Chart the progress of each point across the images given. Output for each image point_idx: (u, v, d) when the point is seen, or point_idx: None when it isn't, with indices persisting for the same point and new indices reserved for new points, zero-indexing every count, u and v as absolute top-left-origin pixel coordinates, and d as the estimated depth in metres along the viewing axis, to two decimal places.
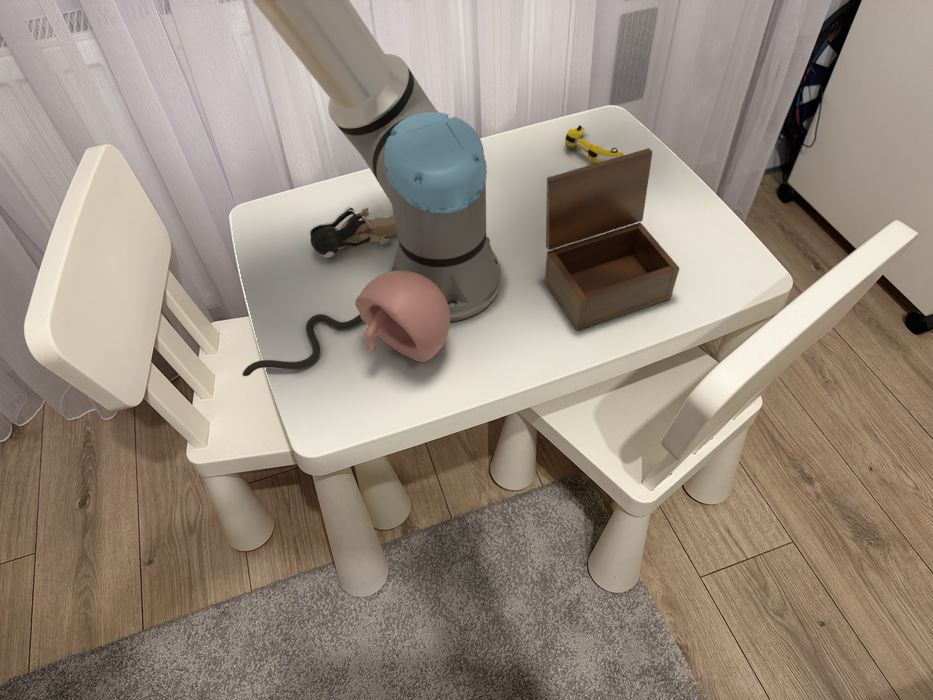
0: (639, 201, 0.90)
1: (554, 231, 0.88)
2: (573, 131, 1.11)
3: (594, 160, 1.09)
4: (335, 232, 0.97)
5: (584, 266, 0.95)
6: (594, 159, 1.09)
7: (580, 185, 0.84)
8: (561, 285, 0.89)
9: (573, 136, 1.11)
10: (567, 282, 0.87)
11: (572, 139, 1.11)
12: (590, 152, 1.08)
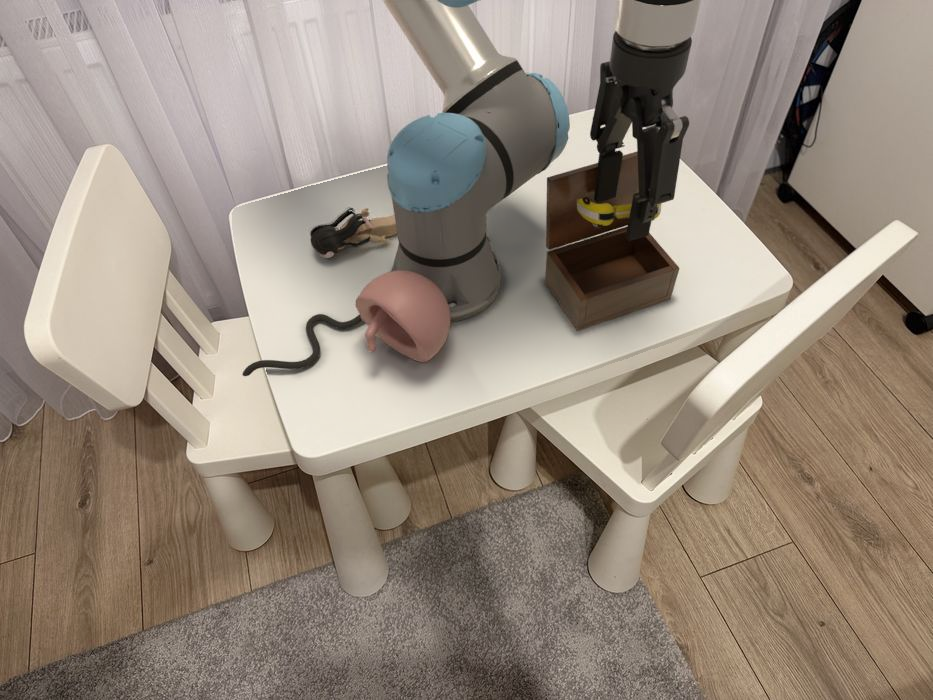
0: None
1: (554, 231, 0.88)
2: (606, 205, 0.79)
3: (657, 216, 0.80)
4: (335, 232, 0.97)
5: (584, 266, 0.95)
6: (657, 215, 0.80)
7: (580, 185, 0.84)
8: (561, 285, 0.89)
9: (612, 210, 0.79)
10: (567, 282, 0.87)
11: (612, 214, 0.80)
12: None
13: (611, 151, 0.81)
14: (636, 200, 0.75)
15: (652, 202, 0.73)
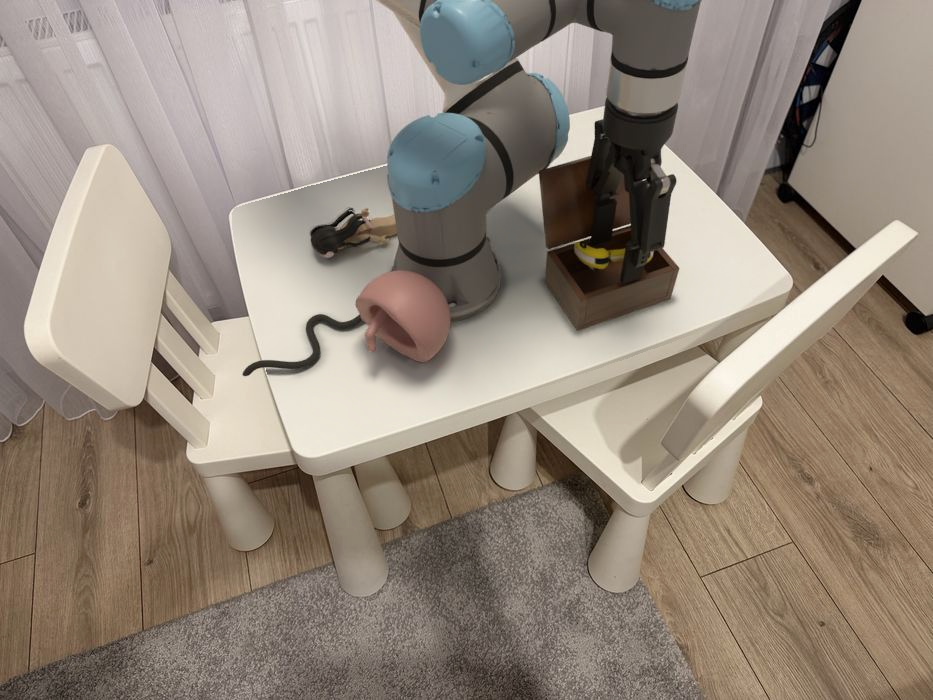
0: None
1: (552, 228, 0.88)
2: (601, 250, 0.85)
3: (649, 260, 0.86)
4: (335, 232, 0.97)
5: (584, 266, 0.95)
6: (649, 259, 0.85)
7: (573, 178, 0.86)
8: (561, 285, 0.89)
9: (607, 255, 0.85)
10: (567, 282, 0.87)
11: (607, 258, 0.85)
12: None
13: (606, 199, 0.86)
14: (629, 248, 0.80)
15: (644, 250, 0.78)
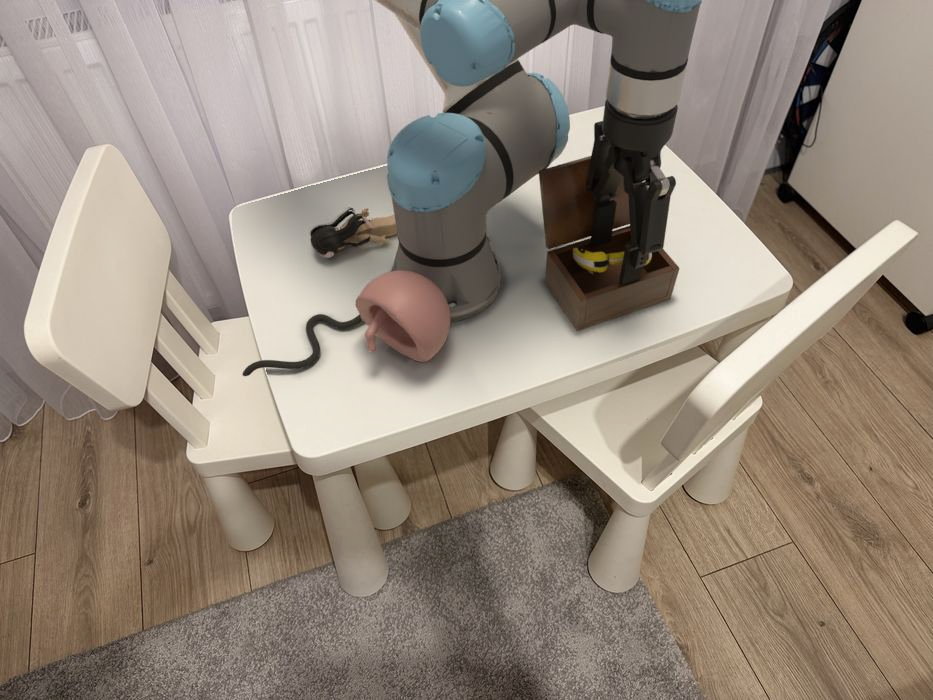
0: None
1: (552, 228, 0.88)
2: (600, 253, 0.85)
3: (648, 262, 0.86)
4: (335, 232, 0.97)
5: None
6: (648, 261, 0.86)
7: (573, 178, 0.86)
8: (561, 285, 0.89)
9: (606, 258, 0.85)
10: (567, 282, 0.87)
11: (606, 261, 0.85)
12: None
13: (605, 201, 0.86)
14: (628, 249, 0.80)
15: (643, 252, 0.78)
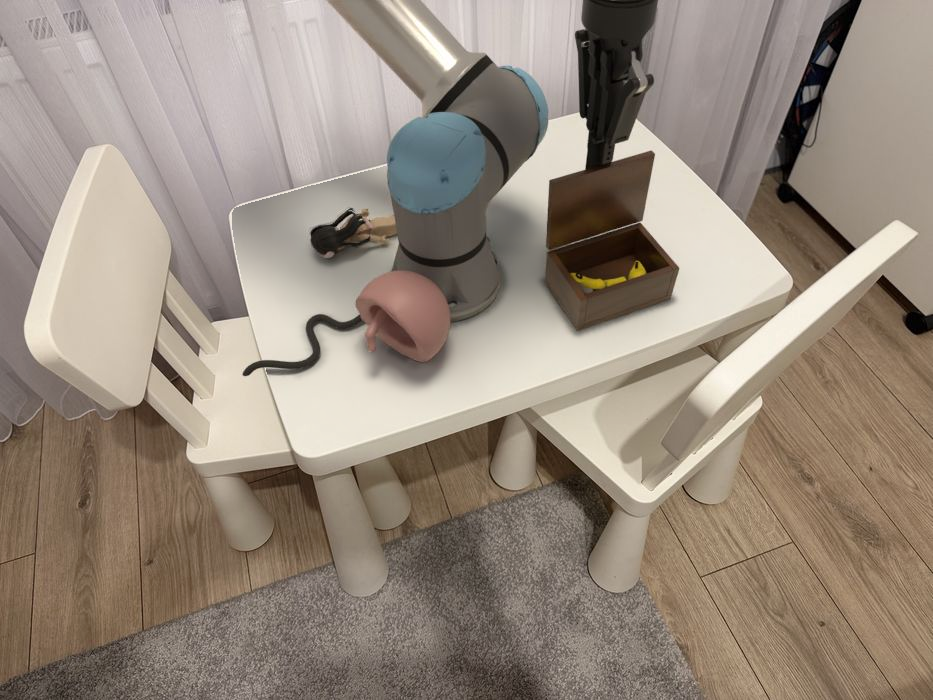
0: (640, 202, 0.90)
1: (555, 232, 0.88)
2: (598, 281, 0.88)
3: None
4: (335, 232, 0.97)
5: (584, 266, 0.95)
6: None
7: (582, 187, 0.84)
8: (561, 285, 0.89)
9: (604, 285, 0.88)
10: (567, 282, 0.87)
11: None
12: None
13: None
14: (594, 141, 0.80)
15: (608, 142, 0.78)
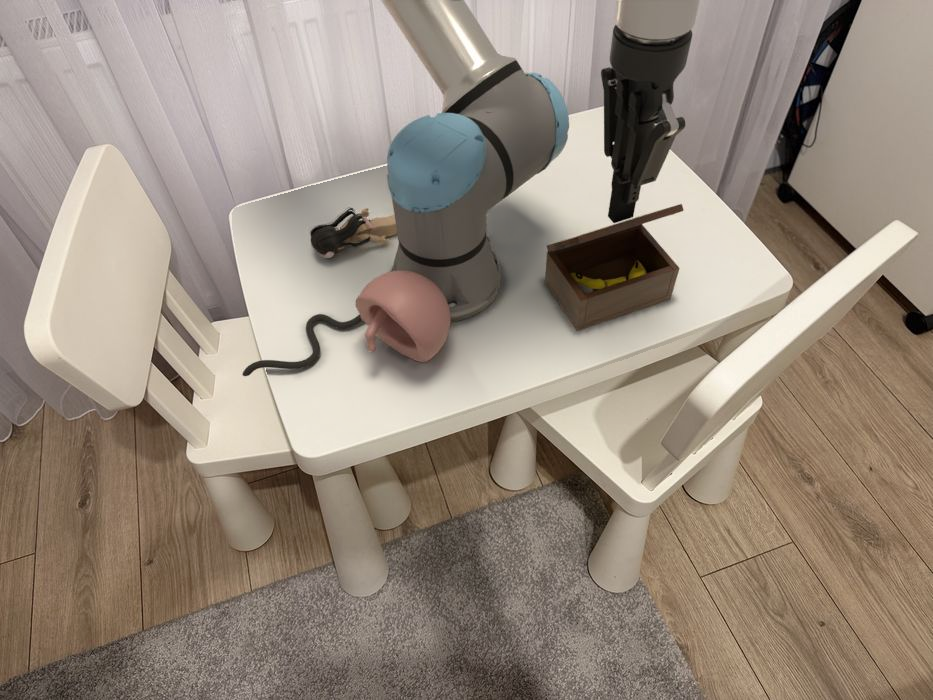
0: None
1: None
2: (598, 281, 0.88)
3: None
4: (335, 232, 0.97)
5: (584, 266, 0.95)
6: None
7: None
8: (561, 285, 0.89)
9: (604, 285, 0.88)
10: (567, 282, 0.87)
11: None
12: None
13: None
14: (619, 181, 0.77)
15: (635, 184, 0.75)
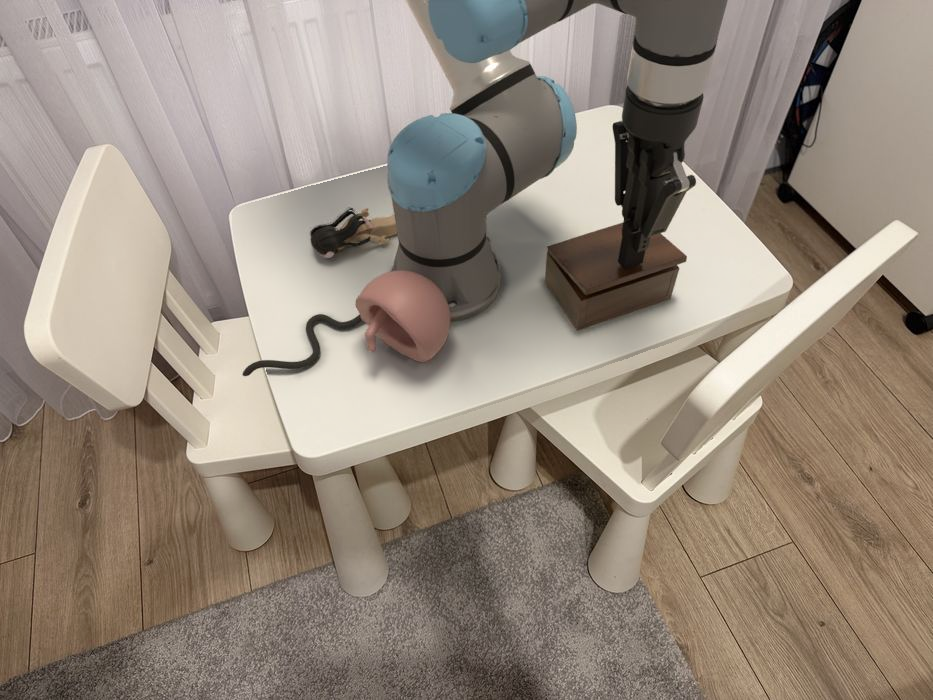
0: None
1: None
2: None
3: None
4: (335, 232, 0.97)
5: None
6: None
7: None
8: (561, 285, 0.89)
9: None
10: (567, 282, 0.87)
11: None
12: None
13: None
14: (630, 231, 0.78)
15: (645, 235, 0.77)
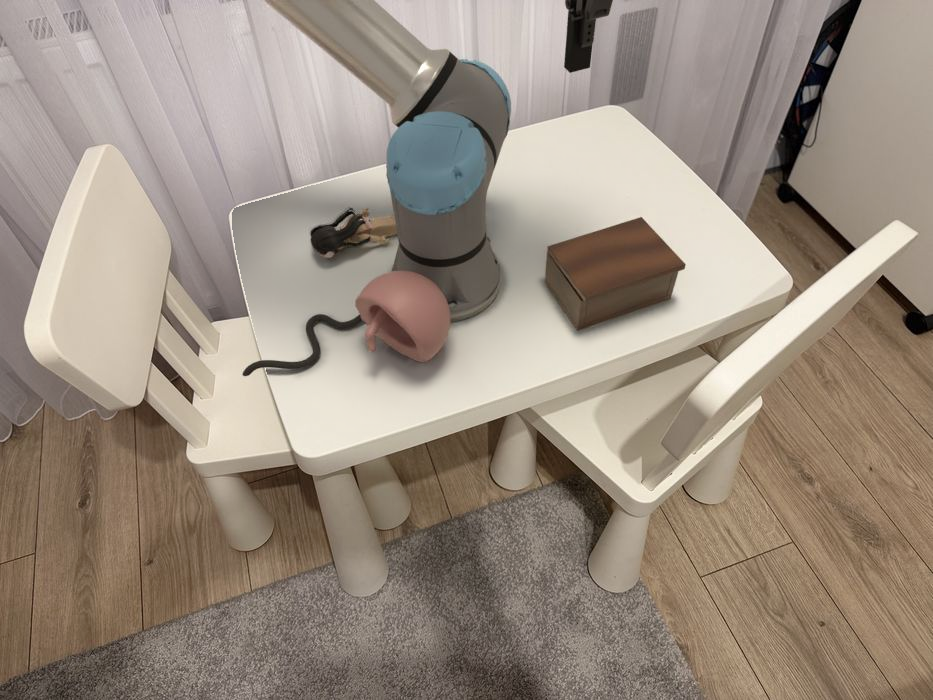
0: None
1: None
2: None
3: None
4: (335, 232, 0.97)
5: None
6: None
7: None
8: (561, 285, 0.89)
9: None
10: (567, 282, 0.87)
11: None
12: None
13: None
14: (572, 18, 0.74)
15: (587, 16, 0.73)
